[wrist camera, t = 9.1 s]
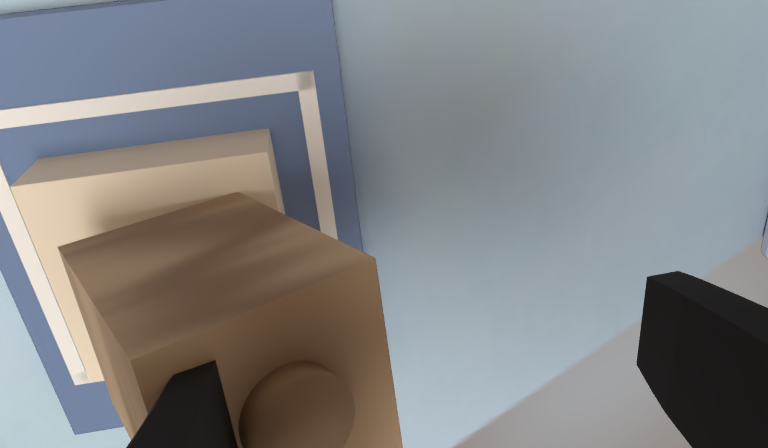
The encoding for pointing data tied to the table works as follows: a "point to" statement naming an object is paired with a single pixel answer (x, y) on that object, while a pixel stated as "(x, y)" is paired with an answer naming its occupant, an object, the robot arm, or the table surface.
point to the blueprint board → (157, 142)
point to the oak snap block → (241, 322)
